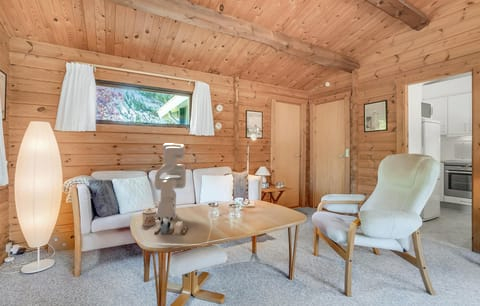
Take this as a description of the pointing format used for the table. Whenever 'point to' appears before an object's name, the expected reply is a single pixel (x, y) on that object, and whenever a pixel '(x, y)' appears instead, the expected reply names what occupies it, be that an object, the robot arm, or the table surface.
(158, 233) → the slot rack
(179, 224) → the ivory stub
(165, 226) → the blue stub
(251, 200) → the table surface
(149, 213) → the teacup with lid
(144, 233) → the table surface
